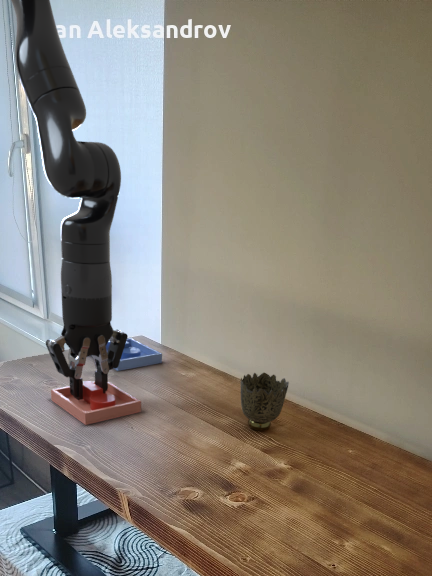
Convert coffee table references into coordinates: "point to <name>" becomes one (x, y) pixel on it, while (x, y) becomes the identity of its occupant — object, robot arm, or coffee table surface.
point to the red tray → (87, 416)
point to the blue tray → (146, 358)
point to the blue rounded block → (130, 352)
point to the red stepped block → (97, 396)
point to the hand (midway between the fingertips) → (89, 395)
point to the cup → (262, 399)
